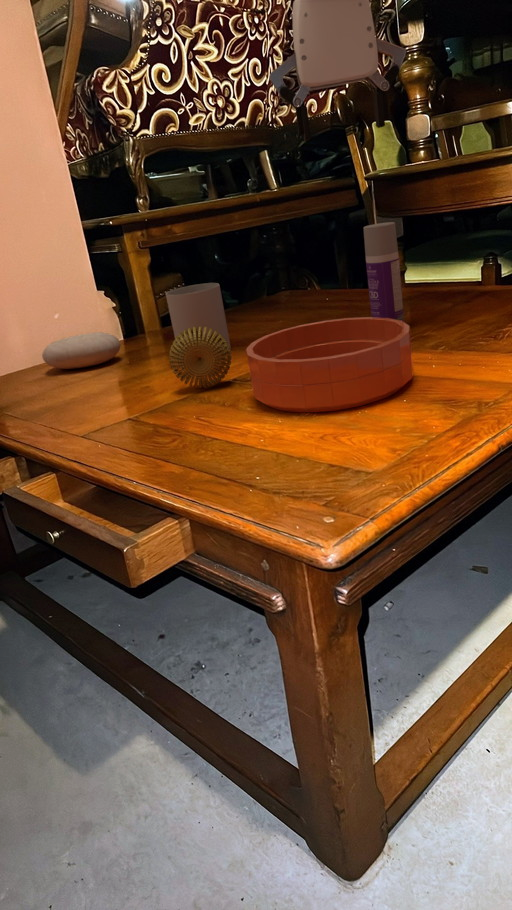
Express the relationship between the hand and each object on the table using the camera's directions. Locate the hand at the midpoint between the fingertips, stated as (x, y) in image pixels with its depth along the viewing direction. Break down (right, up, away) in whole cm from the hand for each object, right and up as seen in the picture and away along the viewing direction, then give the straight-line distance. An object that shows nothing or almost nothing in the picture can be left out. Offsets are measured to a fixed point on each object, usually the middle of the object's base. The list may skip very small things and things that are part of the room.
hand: (344, 133), depth 91 cm
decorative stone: (-40, -28, +24) cm, 54 cm away
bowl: (-2, -34, -9) cm, 36 cm away
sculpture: (-18, -33, 0) cm, 38 cm away
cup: (-20, -26, +18) cm, 38 cm away
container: (+8, -23, +13) cm, 28 cm away
